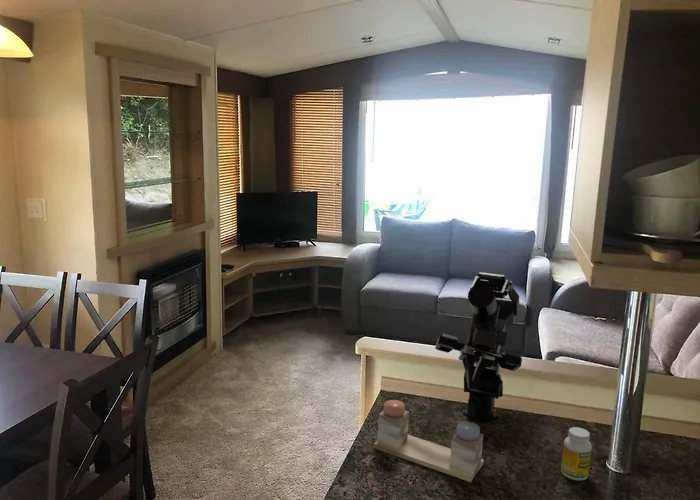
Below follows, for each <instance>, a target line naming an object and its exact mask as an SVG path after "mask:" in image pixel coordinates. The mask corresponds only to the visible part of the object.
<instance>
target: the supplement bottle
mask: <svg viewBox="0 0 700 500" xmlns="http://www.w3.org/2000/svg"><path fill="white" fill-rule="evenodd" d="M590 437H591V434H590V432H589V431H588V430H586V429H585V428H582V427H578V426H576V427H574V426H573V427H570V428H569V430H568V436H567V437H565V439H564V440H563V441H564V442H563V449H562V450H563V451H562V458H561V465H560V467H561V473H562V474H563V475H564V476H565V477H566V478H568V479H570V480H573V481H578V482H579V481H580V482H581V481H585V480H587V479H588V478H589V474H590V473H589V471H590V467H591V465H590V464H591V458H592V449H593V446H592V443H591V442H590Z"/></svg>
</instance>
